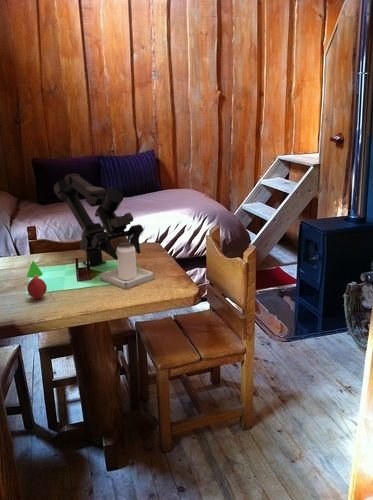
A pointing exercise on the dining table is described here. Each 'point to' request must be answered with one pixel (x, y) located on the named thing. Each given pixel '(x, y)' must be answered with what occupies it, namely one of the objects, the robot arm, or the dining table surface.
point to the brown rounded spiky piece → (118, 242)
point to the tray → (140, 279)
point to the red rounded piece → (36, 287)
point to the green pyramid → (34, 271)
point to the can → (126, 261)
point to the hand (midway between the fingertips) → (128, 256)
